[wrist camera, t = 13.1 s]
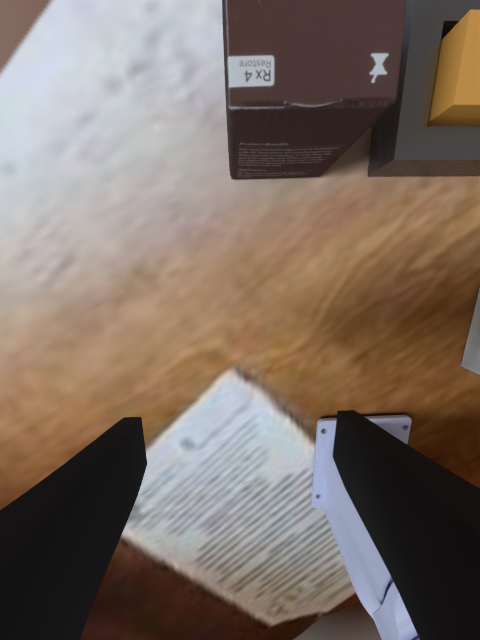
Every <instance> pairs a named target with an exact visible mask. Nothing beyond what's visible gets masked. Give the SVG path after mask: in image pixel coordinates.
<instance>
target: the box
mask: <svg viewBox="0 0 480 640" xmlns="http://www.w3.org/2000/svg"><path fill="white" fill-rule="evenodd" d="M406 4H407V0H222V9H223V40H224V66H225V90H226V113H227V131H228V151H229V167H230V175H231V178H232V179H265V178H298V177H319V176H321V175H322V173H324V172H325V170H327V169H328V168H329V167H330V165H332V164H333V162H335V161H336V160H337V159H338V158H339V157H340V156H341V155H342V154H343V153H344V152H345V151H346V150H347V149H348V148H349V147H350V146H351V145H352V144H353V143H354V142H355V141H356V140H357V139H358V138H359V137H360V136H361V135H362V134H363V133H364V132H365V131H366V130H367V129H368V128H369V127H370V126H371V125H373V124H374V123H375V122H376V120H377V119H378V118H379V117H380V116H381V115H382V114H383V113H384V112H385V111H386V110H387V109H388V108H389V107H391V106H392V105H393V104H394V103H395V101H396V96H397V88H398V79H399V69H400V60H401V50H402V40H403V31H404V22H405V11H406Z"/></svg>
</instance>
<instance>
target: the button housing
mask: <svg viewBox="0 0 480 640" xmlns="http://www.w3.org/2000/svg"><path fill="white" fill-rule="evenodd" d="M469 10H480V0H407V4H406V11H405V22H404V31H403V40H402V50H401V60H400V69H399V79H398V88H397V96H396V101H395V103H394V104H393V105H392V106H391V107H389V108H388V109H387V110H386V111H385V112H384V113H383V114H382V115H381V116H380V117H379V118H378V119H377V120H376V122H375V123H374V124H373V130H372V139H371V149H370V158H369V167H368V176H480V126H427V125H428V118H429V112H430V106H431V99H432V93H433V86H434V80H435V74H436V67H437V61H438V55H439V48H440V42H441V40H442V39H443V38H444V37H445V36H446V35H447V34H448V33H449V32H450V31H451V30H452V28H453V27H454V26H455V25H456V24H457V23H458V22H459V21H460V20H461V19H462V18H463V17H464V16H465V15H466V14H467V13H468V12H469Z"/></svg>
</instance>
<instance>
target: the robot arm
mask: <svg viewBox="0 0 480 640" xmlns="http://www.w3.org/2000/svg"><path fill="white" fill-rule="evenodd" d="M411 423H412V420H411V418H410V417H408V416H407V415H388V416H363V415H361V414H359V413H358V412H356V411H354V410H349V411H338V413H337V418H322V419H320V420H319V421H318V422H317V432H316V445H315V458H314V471H313V484H312V497H311V503H312V506H313V507H314V508H316V509H320V508H324V511H325V513H326V516H327V518H328V521H329V524H330V526H331V529H332V532H333V534H334V537H335V539H336V542H337V545H338V547H339V550H340V553H341V555H342V558H343V560H344V563H345V566H346V568H347V571H348V574H349V576H350V579H351V581H352V584H353V587H354V589H355V591H356V593H357V595H358V597H359V599H360V601H361V603H362V604H363V606H364V607H365V609H366V610H367V612H368V613H369V614H370V616H371V617H372V618H373V619H374V621H375V623H376V626H377V628H378V630H379V633H380V636H381V638H382V640H480V488H478V487H476V486H474V485H473V484H471V483H469V482H467V481H466V480H464V479H462V478H461V477H459V476H457V475H456V474H454V473H452V472H451V471H449V470H447V469H446V468H444V467H442V466H441V465H439V464H437V463H436V462H434V461H432V460H431V459H429V458H428V457H426V456H424V455H423V454H421V453H420V452H418V451H416V450H415V449H413V448H412V447H410V446H409V445H407V443H408V438H409V433H410V428H411ZM322 429H324V430H322ZM146 466H147V459H146V451H145V443H144V435H143V427H142V419H141V417H125V418H123V419H121V420H120V421H119V422H117V423H116V424H115V425H113V426H112V427H111V428H109V429H108V430H107V431H106V432H104V433H103V434H102V435H101V436H99V437H98V438H97V439H96V440H94V441H93V442H92V443H91V444H89V445H88V446H87V447H85V448H84V449H83V450H82V451H80V452H79V453H78V454H76V455H75V456H74V457H73V458H71V459H70V460H69V461H68V462H66V463H65V464H64V465H62V466H61V467H60V468H58V469H57V470H56V471H54V472H53V473H51V474H50V475H49V476H47V477H46V478H45V479H43V480H42V481H41V482H39V483H38V484H36V485H35V486H34V487H32V488H31V489H30V490H28V491H27V492H26V493H24V494H23V495H21V496H20V497H19V498H17V499H16V500H14V501H13V502H12V503H10V504H9V505H7V506H6V507H4V508H3V509H1V510H0V640H80V638H81V635H82V632H83V629H84V626H85V624H86V621H87V618H88V615H89V612H90V610H91V607H92V605H93V602H94V599H95V597H96V594H97V592H98V589H99V587H100V584H101V582H102V580H103V577H104V575H105V572H106V570H107V568H108V565H109V563H110V561H111V558H112V556H113V553H114V551H115V549H116V546H117V544H118V542H119V539H120V537H121V534H122V532H123V530H124V527H125V525H126V522H127V520H128V518H129V515H130V513H131V510H132V508H133V506H134V503H135V501H136V498H137V496H138V492H139V489H140V486H141V483H142V480H143V476H144V473H145V469H146Z"/></svg>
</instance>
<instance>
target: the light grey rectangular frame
mask: <svg viewBox="0 0 480 640" xmlns="http://www.w3.org/2000/svg"><path fill="white" fill-rule="evenodd" d="M461 367H463V368H465V369H467V370H469V371H472V372H474V373H476V374H478V375H480V288H479V293H478V297H477V301H476V305H475V309H474V313H473V318H472V322H471V326H470V330H469V334H468V339H467V343H466V347H465V351H464V355H463V359H462V364H461Z"/></svg>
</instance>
